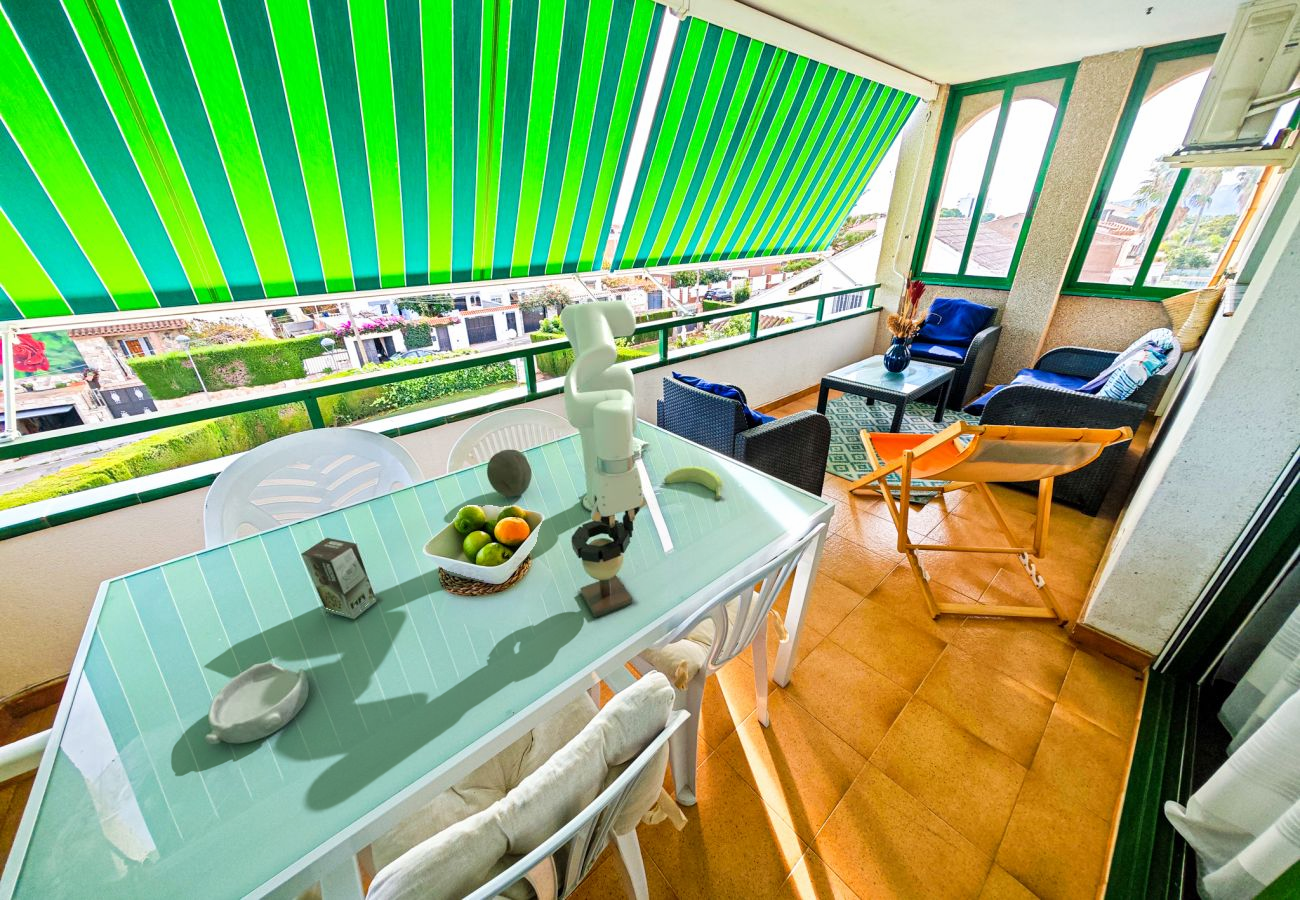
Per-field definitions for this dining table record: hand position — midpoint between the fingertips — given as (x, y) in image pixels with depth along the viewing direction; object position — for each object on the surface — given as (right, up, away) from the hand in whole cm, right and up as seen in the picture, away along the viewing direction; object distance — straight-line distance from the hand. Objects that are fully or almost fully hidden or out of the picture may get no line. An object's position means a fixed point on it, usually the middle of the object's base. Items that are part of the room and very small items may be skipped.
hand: (621, 535), depth 100 cm
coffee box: (-62, -17, +5) cm, 65 cm away
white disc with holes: (-3, +19, +79) cm, 81 cm away
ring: (-4, -1, -2) cm, 5 cm away
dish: (-62, -28, -19) cm, 71 cm away
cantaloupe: (-39, +4, +50) cm, 64 cm away
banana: (+22, +6, +49) cm, 54 cm away
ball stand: (-4, -15, +4) cm, 16 cm away
